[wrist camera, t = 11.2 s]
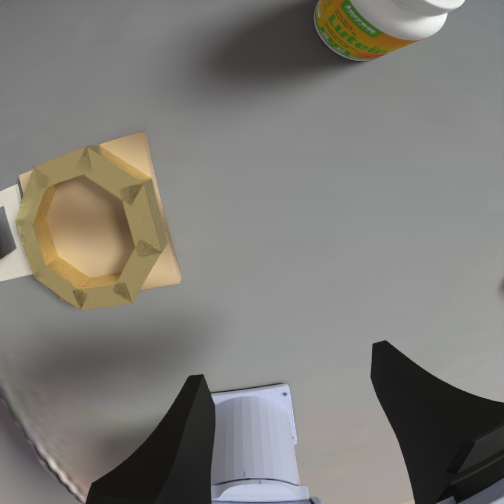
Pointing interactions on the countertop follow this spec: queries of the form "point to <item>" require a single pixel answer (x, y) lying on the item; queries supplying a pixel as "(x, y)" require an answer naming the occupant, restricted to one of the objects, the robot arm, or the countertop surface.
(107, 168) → the collar
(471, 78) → the countertop surface
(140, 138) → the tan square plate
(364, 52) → the supplement bottle
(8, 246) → the steel block
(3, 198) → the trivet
